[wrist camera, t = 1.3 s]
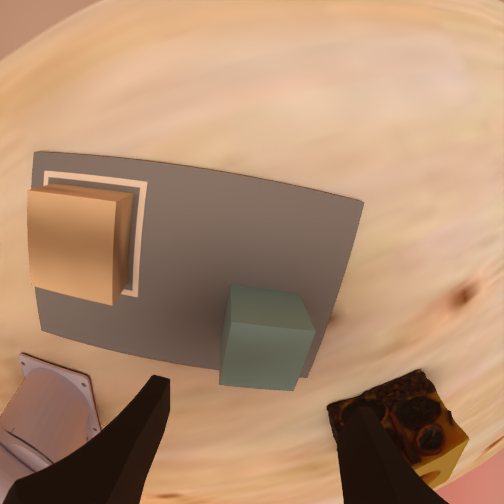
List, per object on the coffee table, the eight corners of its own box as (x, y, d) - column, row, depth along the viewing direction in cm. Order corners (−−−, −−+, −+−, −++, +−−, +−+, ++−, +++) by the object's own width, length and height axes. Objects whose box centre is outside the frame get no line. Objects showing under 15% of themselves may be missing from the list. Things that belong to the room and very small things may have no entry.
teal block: (282, 348, 21) (293, 390, 17) (220, 340, 21) (219, 384, 16) (298, 293, 20) (315, 331, 15) (230, 283, 19) (231, 321, 15)
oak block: (127, 283, 19) (112, 305, 16) (53, 268, 18) (31, 285, 15) (133, 193, 17) (116, 201, 14) (53, 183, 16) (27, 190, 13)
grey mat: (305, 372, 23) (307, 378, 22) (44, 326, 20) (41, 331, 19) (360, 200, 19) (364, 202, 18) (38, 151, 16) (33, 151, 15)
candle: (325, 403, 25) (355, 492, 15) (421, 364, 24) (473, 435, 15) (336, 452, 28) (358, 521, 18) (414, 420, 28) (448, 481, 18)
